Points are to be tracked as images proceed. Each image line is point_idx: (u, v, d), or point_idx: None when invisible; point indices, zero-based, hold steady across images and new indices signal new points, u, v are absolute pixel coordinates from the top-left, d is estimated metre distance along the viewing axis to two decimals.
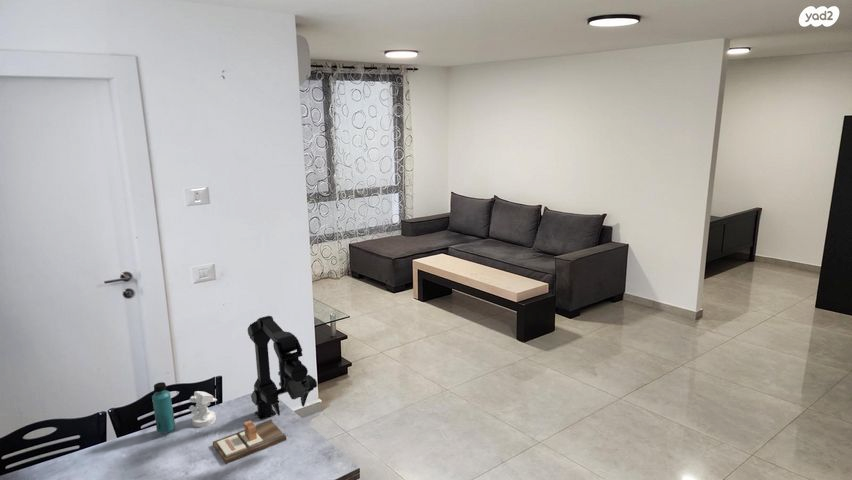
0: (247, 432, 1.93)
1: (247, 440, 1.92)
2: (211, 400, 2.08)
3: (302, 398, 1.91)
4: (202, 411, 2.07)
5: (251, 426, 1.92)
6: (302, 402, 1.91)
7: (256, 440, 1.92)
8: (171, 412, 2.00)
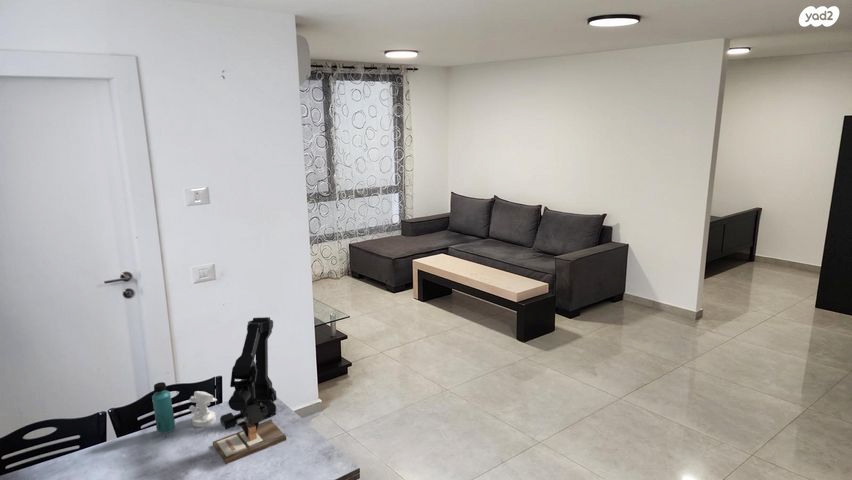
0: None
1: (247, 440, 1.92)
2: (211, 400, 2.08)
3: None
4: (202, 411, 2.07)
5: (251, 426, 1.92)
6: None
7: (256, 440, 1.92)
8: (171, 412, 2.00)
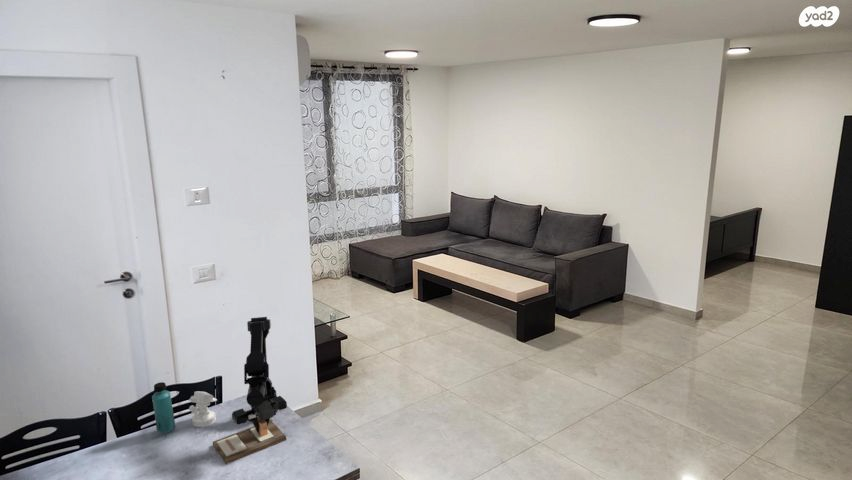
0: None
1: (258, 436, 1.95)
2: (211, 400, 2.08)
3: None
4: (202, 411, 2.07)
5: (262, 422, 1.95)
6: None
7: (267, 436, 1.95)
8: (171, 412, 2.00)
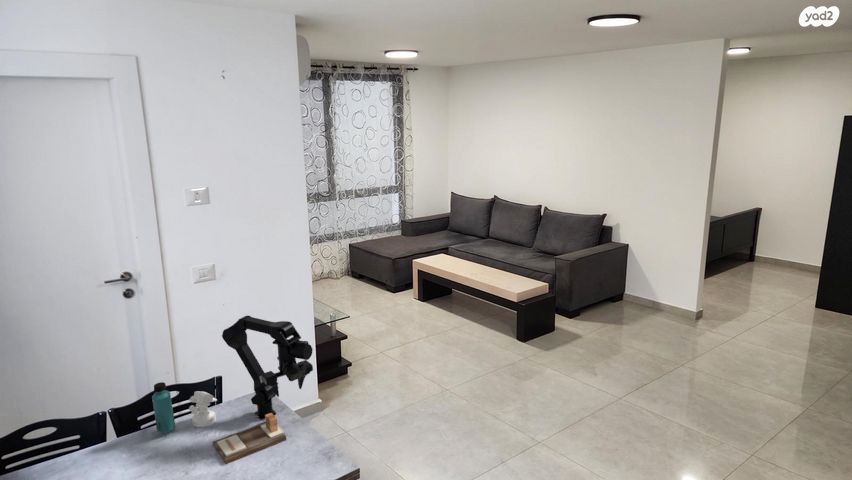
0: (268, 424, 1.98)
1: (268, 432, 1.97)
2: (211, 400, 2.08)
3: (299, 381, 2.08)
4: (202, 411, 2.07)
5: (273, 418, 1.97)
6: (299, 385, 2.08)
7: (277, 432, 1.97)
8: (171, 412, 2.00)
